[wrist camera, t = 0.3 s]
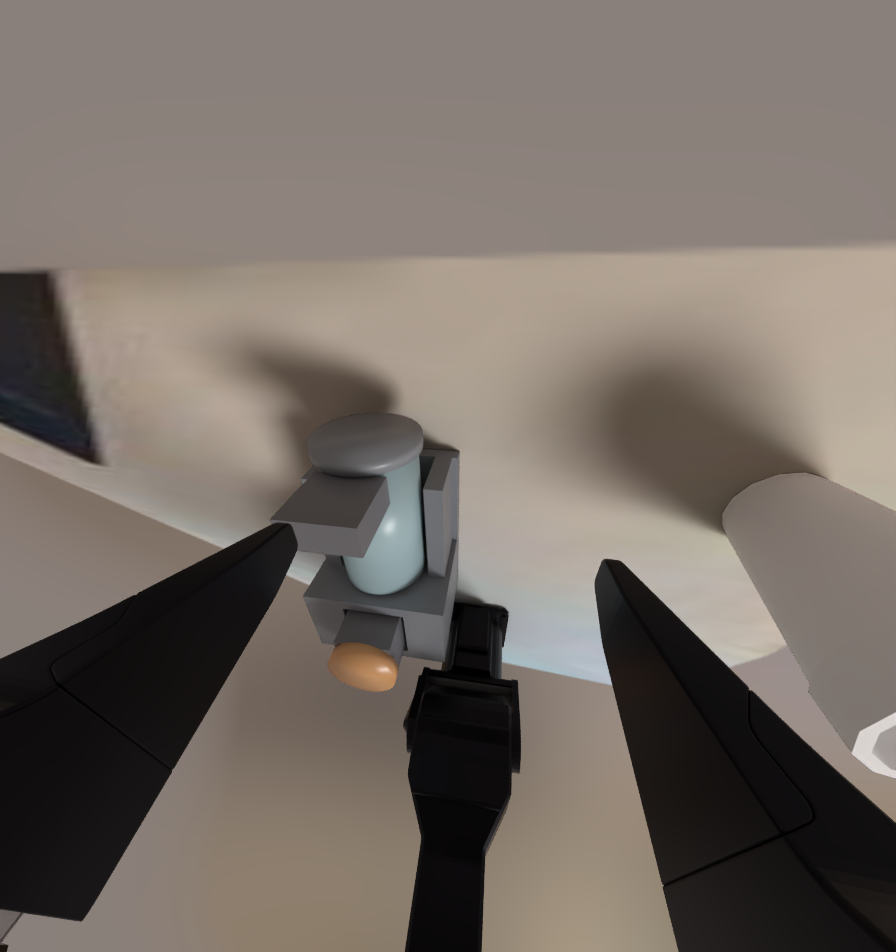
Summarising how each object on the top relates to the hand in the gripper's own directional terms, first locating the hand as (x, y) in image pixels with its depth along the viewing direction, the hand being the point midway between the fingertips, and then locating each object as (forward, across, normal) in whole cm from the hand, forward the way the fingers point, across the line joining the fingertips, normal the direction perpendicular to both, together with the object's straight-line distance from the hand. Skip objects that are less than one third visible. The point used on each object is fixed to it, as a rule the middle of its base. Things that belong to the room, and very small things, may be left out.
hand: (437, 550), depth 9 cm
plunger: (+7, +6, +15) cm, 18 cm away
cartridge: (+13, +6, +7) cm, 16 cm away
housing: (+14, +6, +10) cm, 18 cm away
